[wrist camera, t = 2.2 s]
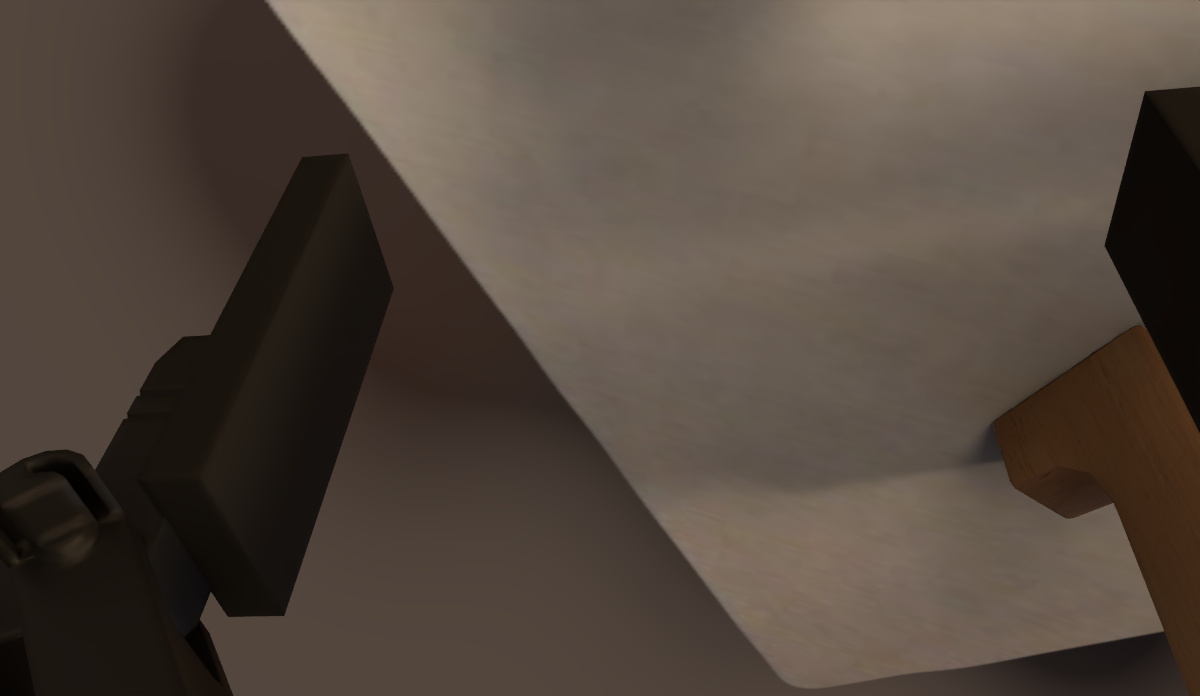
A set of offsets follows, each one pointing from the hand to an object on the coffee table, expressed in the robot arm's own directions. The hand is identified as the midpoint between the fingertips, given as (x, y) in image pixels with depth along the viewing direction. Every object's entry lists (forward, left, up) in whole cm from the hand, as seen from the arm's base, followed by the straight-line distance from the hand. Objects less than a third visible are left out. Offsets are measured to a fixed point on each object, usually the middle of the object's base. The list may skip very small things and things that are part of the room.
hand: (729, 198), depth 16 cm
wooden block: (+30, +18, -25) cm, 43 cm away
